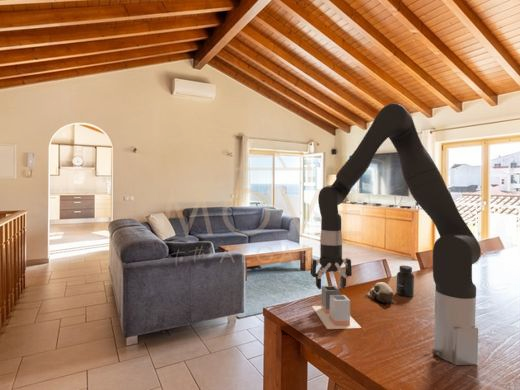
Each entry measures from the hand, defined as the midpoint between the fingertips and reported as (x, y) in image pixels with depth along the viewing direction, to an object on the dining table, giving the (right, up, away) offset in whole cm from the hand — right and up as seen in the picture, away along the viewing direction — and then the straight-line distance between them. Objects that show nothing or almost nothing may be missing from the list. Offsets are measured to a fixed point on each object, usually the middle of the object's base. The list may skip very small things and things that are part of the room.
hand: (330, 288), depth 107 cm
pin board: (0, -10, -4) cm, 11 cm away
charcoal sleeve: (0, -8, +1) cm, 8 cm away
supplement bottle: (+37, -10, +22) cm, 44 cm away
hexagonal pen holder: (+1, -8, -8) cm, 12 cm away
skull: (+24, -10, +15) cm, 30 cm away
